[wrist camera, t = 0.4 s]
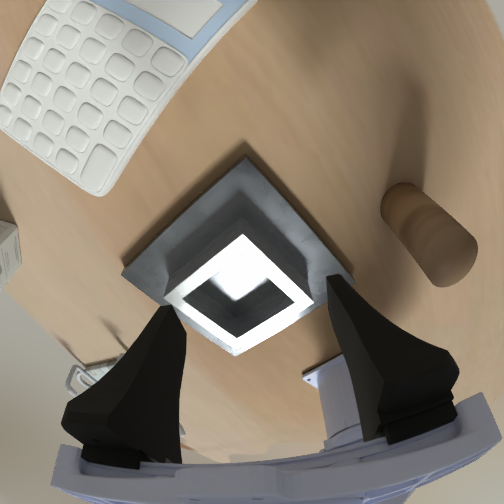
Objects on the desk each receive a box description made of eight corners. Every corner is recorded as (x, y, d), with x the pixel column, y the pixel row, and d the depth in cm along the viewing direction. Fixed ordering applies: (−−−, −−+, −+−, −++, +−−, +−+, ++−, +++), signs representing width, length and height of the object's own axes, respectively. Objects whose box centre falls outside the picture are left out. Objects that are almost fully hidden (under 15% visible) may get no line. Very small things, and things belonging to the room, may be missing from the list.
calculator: (-1, 117, 17) (-15, 122, 15) (134, -88, 9) (127, -98, 7) (109, 195, 22) (100, 206, 20) (279, -17, 14) (283, -25, 12)
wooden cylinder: (428, 208, 22) (482, 262, 16) (393, 235, 24) (437, 297, 17) (410, 172, 21) (470, 220, 14) (372, 201, 22) (420, 260, 15)
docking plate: (352, 275, 26) (364, 302, 23) (235, 348, 31) (235, 376, 28) (245, 154, 20) (246, 169, 17) (124, 267, 25) (111, 294, 22)
